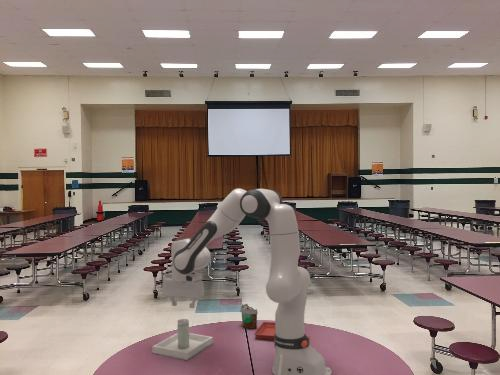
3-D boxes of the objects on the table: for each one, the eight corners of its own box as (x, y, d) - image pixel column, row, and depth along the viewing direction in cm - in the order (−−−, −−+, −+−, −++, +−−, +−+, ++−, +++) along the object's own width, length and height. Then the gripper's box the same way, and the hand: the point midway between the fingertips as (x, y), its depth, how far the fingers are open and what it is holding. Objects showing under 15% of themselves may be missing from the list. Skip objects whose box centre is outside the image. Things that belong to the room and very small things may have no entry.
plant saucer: (253, 340, 198) (253, 333, 198) (263, 328, 215) (263, 321, 215) (292, 344, 193) (292, 336, 193) (299, 330, 210) (299, 324, 210)
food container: (236, 324, 220) (236, 305, 220) (247, 322, 223) (247, 303, 223) (246, 331, 209) (246, 311, 209) (257, 329, 211) (257, 309, 211)
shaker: (191, 345, 191) (191, 319, 190) (185, 349, 186) (184, 323, 186) (182, 344, 193) (181, 318, 193) (175, 348, 188) (175, 321, 188)
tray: (213, 343, 194) (212, 337, 194) (187, 360, 176) (187, 353, 176) (180, 337, 202) (180, 331, 202) (152, 353, 184) (152, 346, 184)
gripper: (158, 275, 191) (159, 306, 191) (197, 278, 182) (198, 310, 182) (167, 272, 196) (168, 302, 197) (205, 275, 187) (206, 306, 187)
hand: (183, 306), depth 189 cm, fingers open, 8 cm apart
